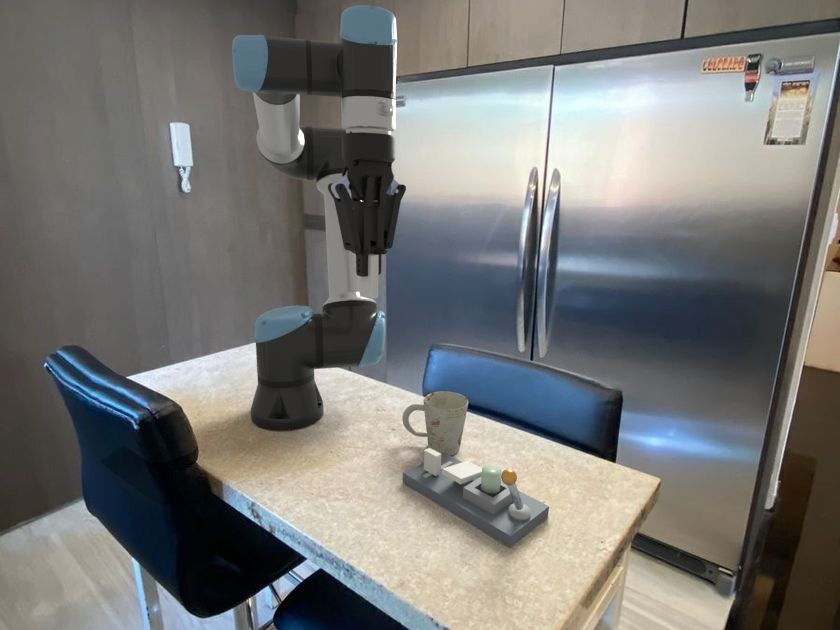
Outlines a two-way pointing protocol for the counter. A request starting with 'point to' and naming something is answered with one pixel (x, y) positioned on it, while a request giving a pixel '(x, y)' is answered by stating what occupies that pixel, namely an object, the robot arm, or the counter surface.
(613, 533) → the counter surface
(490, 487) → the button
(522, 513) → the panel
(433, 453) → the slider
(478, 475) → the plate
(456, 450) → the mug
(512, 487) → the lever
